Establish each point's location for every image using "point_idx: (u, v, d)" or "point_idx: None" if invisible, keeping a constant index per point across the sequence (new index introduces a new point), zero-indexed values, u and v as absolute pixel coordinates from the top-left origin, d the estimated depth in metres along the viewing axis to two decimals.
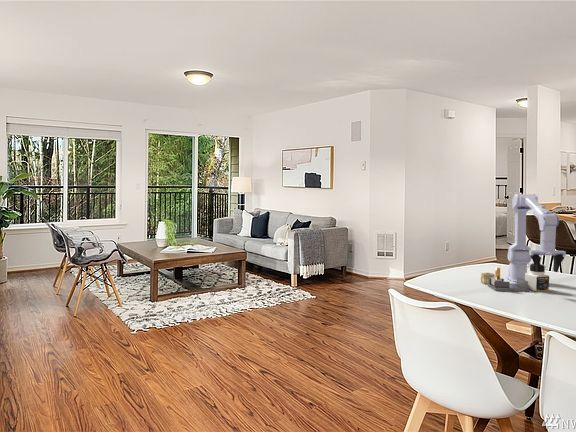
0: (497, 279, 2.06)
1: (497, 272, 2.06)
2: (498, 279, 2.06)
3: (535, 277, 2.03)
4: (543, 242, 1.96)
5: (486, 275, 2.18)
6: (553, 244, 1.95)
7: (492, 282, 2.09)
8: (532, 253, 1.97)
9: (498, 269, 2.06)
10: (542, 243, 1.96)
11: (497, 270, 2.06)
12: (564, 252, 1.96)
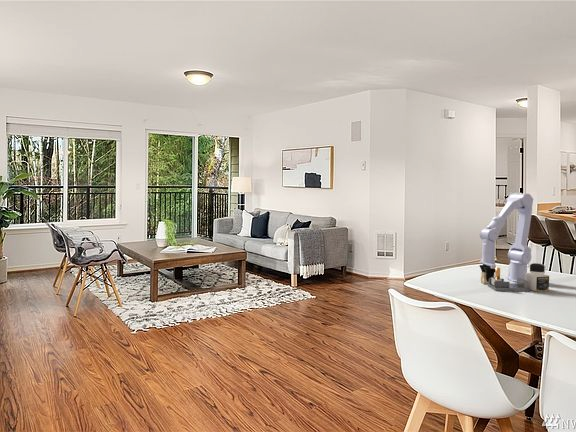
0: (497, 279, 2.06)
1: (497, 272, 2.06)
2: (498, 279, 2.06)
3: (535, 277, 2.03)
4: None
5: None
6: (483, 255, 2.18)
7: (492, 282, 2.09)
8: (481, 261, 2.26)
9: (498, 269, 2.06)
10: None
11: (497, 270, 2.06)
12: (491, 265, 2.13)
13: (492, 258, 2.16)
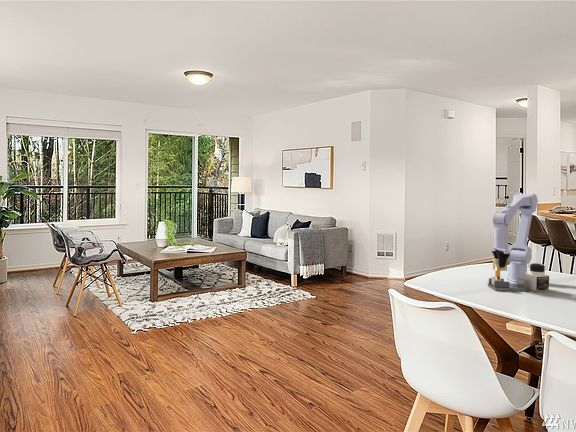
0: (497, 279, 2.06)
1: (497, 272, 2.06)
2: (498, 279, 2.06)
3: (535, 277, 2.03)
4: None
5: (498, 261, 2.12)
6: (496, 241, 2.12)
7: (492, 282, 2.09)
8: None
9: (498, 269, 2.06)
10: None
11: (497, 270, 2.06)
12: (504, 250, 2.06)
13: (505, 243, 2.10)
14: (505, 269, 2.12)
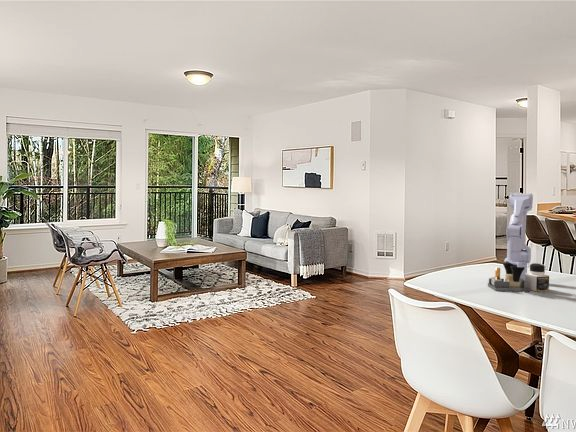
0: (497, 279, 2.06)
1: (497, 272, 2.06)
2: (498, 279, 2.06)
3: (535, 277, 2.03)
4: None
5: (511, 277, 2.06)
6: (509, 253, 2.06)
7: (492, 282, 2.09)
8: (505, 260, 2.14)
9: (498, 269, 2.06)
10: None
11: (497, 270, 2.06)
12: (517, 263, 2.01)
13: (518, 256, 2.05)
14: (518, 285, 2.06)
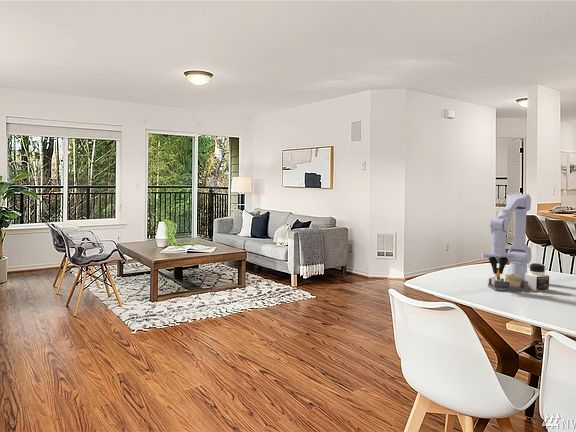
0: (497, 279, 2.06)
1: (497, 272, 2.06)
2: (498, 279, 2.06)
3: (535, 277, 2.03)
4: (494, 245, 2.05)
5: (511, 277, 2.06)
6: (503, 247, 2.04)
7: (492, 282, 2.09)
8: (484, 256, 2.06)
9: (498, 269, 2.06)
10: (493, 246, 2.05)
11: (497, 270, 2.06)
12: (514, 255, 2.05)
13: None
14: (518, 285, 2.06)
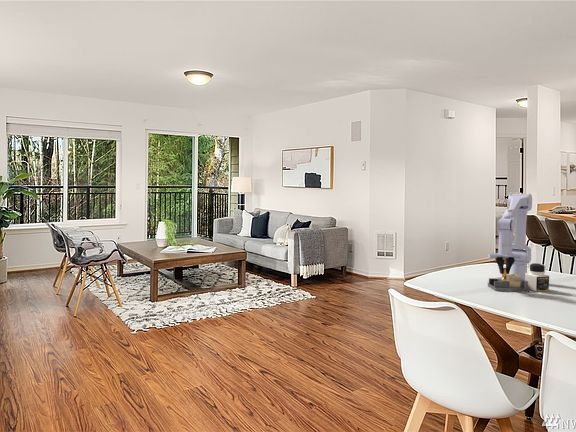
0: (504, 279, 2.06)
1: (504, 272, 2.06)
2: (505, 279, 2.06)
3: (535, 277, 2.03)
4: (501, 245, 2.05)
5: (511, 277, 2.06)
6: (510, 247, 2.03)
7: None
8: (490, 256, 2.06)
9: (505, 269, 2.06)
10: (500, 246, 2.05)
11: (504, 270, 2.06)
12: (521, 255, 2.05)
13: None
14: (518, 285, 2.06)
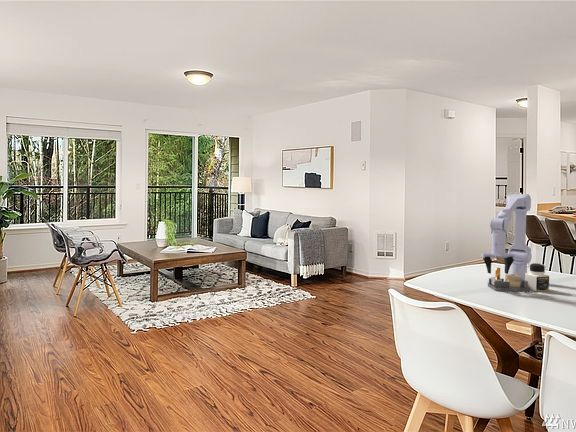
0: (497, 279, 2.06)
1: (497, 272, 2.06)
2: (498, 279, 2.06)
3: (535, 277, 2.03)
4: (494, 245, 2.05)
5: (511, 277, 2.06)
6: (503, 247, 2.04)
7: (492, 282, 2.09)
8: (484, 256, 2.06)
9: (498, 269, 2.06)
10: (493, 246, 2.05)
11: (497, 270, 2.06)
12: (514, 255, 2.05)
13: None
14: (518, 285, 2.06)
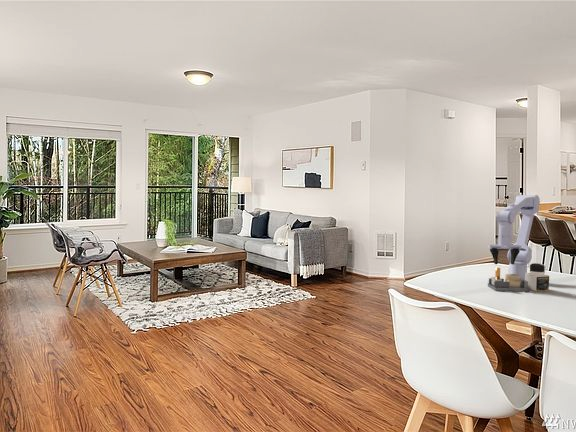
0: (497, 279, 2.06)
1: (497, 272, 2.06)
2: (498, 279, 2.06)
3: (535, 277, 2.03)
4: (500, 237, 2.13)
5: (511, 277, 2.06)
6: (509, 239, 2.11)
7: (492, 282, 2.09)
8: (490, 247, 2.14)
9: (498, 269, 2.06)
10: (500, 238, 2.13)
11: (497, 270, 2.06)
12: (520, 246, 2.13)
13: None
14: (518, 285, 2.06)
